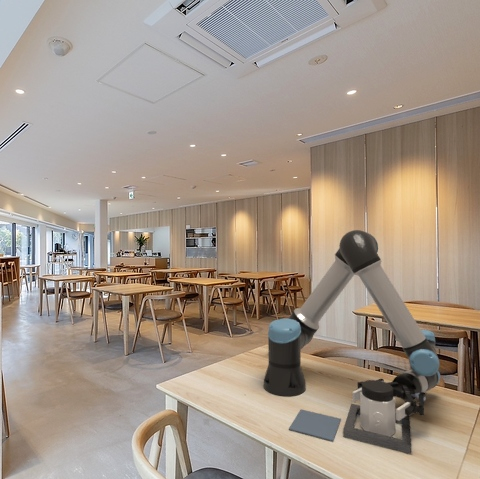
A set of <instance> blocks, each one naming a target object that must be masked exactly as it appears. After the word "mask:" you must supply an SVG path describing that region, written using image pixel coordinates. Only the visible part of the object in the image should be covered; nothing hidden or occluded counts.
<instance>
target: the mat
mask: <svg viewBox="0 0 480 479" xmlns="http://www.w3.org/2000/svg"><path fill="white" fill-rule="evenodd" d="M341 421H342V419H341V417H335V416H331V415H327V414H322V413H319V412H314V411H310V410H305V409H300V410H299V411H298V413H297V414H296V416H295V418H294V419H293V421H292V422H291V424H290V426H289V427H288V431H291V432H295V433H298V434H301V435H306V436H308V437H309V436H310V437H313V438H318V439H321V440H325V441H328V442H332V443H334V441H335V438H336V435H337V431H338V429H339V427H340V423H341Z"/></svg>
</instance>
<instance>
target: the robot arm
mask: <svg viewBox="0 0 480 479" xmlns="http://www.w3.org/2000/svg"><path fill="white" fill-rule="evenodd" d="M378 251H379V244H378V241H377V239H376V237H374V236H373V235H372V234H371V233H369V232H366V231H363V230H362V229H361V230H360V229H355V230H350V231H348V232H346V233H345V234H344V235H343V236H342V237H341V239H340V242H339V248H338V249H337V251H336V252H335V253H334V260H335V261H334V262H333V264H331V266H330V268H329V269H328V270H327V271H326V273H325V274H324V275H323V277H322V278H321V279H320V281H319V282H318V284H317V285H316V287H315V288H314V289H313V290H312V292H311V293H310V294H309V296H308V297H307V299H306V300H305V301H304V303H303V304H302V306H301V307H299V308H295V309H294V310H293V311H292V313H291V314H290V315H289V317H288V318H279V319H275V320H273V321H271V322H270V323H269V325H268V330H267V331H268V332H267V336H268V338H267V339H268V342H267V343H268V344H267V345H268V346H267V347H268V366H267V368H266V372H265V375H264V377H263V388H264V389H265V391H267V392H269V393H271V394H272V395H276V396H282V397H291V396H298V395H300V394H303V393H304V392H305V391H306V389H307V388H306V386H307V385H306V379H305V376H304V372H303V369H302V366H301V365H302V362H301V361H302V360H301V356H302V355H301V354H302V353H301V352H302V351H301V350H302V349H303V348H304V347H305V346H307V345H308V344H309V343H310V342H311V341H312V339H313V337H314V336H315V334H316V333H317V331H318V330H319V328H320V325H319V324H320V323H319V322H320V321H321V319H323V317H324V316H325V314H326V313H327V311H328V310H329V309H330V308H331V306H332V305H333V304H334V302H335V301H336V300H337V298H338V297H339V296H340V294H341V293H342V292H343V290H344V289H345V288H346V287H347V285H348V284H349V282H350V281H351V280H352V279H353V277H354V276H358V277H359V279H360V280H361V282H362V283H363V285H364V287H365V288H366V291H367V292H368V293H369V295H370V296H371V298H372V300H373V302H374V303H375V306H377V308H378V310H379V311H380V313H381V315H382V316H383V318H384V319H385V321H386V323H387V324H388V327H389V328H390V330H391V332H392V333H393V334H394V336H395V338H396V340H397V342H398V343H399V344H400V346H401V348H402V350H403V351H404V353H405V355H406V357H407V358H408V361H409V369H408V370H406V371H404V372H402V373H400V374H398V375H397V376H395V377H394V378H393V380H392V381H389V382H385V380H384V378H378V379H376V380H377V381H382V382H385V383H387V384H389V385H391V386H392V387H393V397H394V398H395V397H396V398H399V399H400V400H401V399H402V400H403V401H404V403H403V404H402V405H401V406H399V407H397V408H395V413H396V420H398V421H400V420H401V419H403V418H404V417H405V416H407V415H408V416H412V415H413V414H418V415H420V416H421V417H423V416H425V404H426V402H427V400H426V396H427V395H426V392H428V391H430V390H431V389H433V388H436V386H437V385H438V384H439V383H440V381H441V373H440V371H439V369H440V358H439V357H438V353H437V348H436V338H435V337H436V335H435V333H434V332H433V331H431V330H427V329H421V328H420V326H419V324H418V323H417V321H416V319H415V318H414V317H413V315H412V314H411V311H410V310H409V309H408V307H407V305H406V304H405V302H404V300H403V298H402V297H401V296H400V294H399V292H398V291H397V289H396V287H395V286H394V284H393V282H392V281H391V280H390V278H389V277H388V275H387V273H386V271H385V270H384V268H383V267H382V258H380V256H379V254H378V253H379V252H378ZM363 382H364V381H358V382H357V388H356V389H355V390H354V391H352V392H351V395H352V397H351V399H352V400H351V401H352V402H353V403H357V402H358V401H360V393H361V392H362V383H363ZM416 399H417V401H416ZM417 403H418V405H417Z"/></svg>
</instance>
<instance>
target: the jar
mask: <svg viewBox="0 0 480 479" xmlns="http://www.w3.org/2000/svg"><path fill="white" fill-rule="evenodd" d="M377 380H378V379H368V380H364V381H362V382H363V383H362V392H361V393H360V400H359V405H360V415H359V416H360V418H359V419H360V427H361V428H362V430H365V431H369V432H373V433H377V434H382V435H386V436H390V437H393V435H394V434H396V432H397V430H396V426H397V425H396V424H397V423H396V421H395V413H396V398H395V396H393V387H392V386H391V385H389V384H387V383H388V382H386V383H385V381H384V382H382V381H377Z"/></svg>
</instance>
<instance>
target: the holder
mask: <svg viewBox="0 0 480 479" xmlns="http://www.w3.org/2000/svg"><path fill="white" fill-rule="evenodd" d="M358 415H359V416H360V404H356V403H351V404H350V406H349V410H348V413H347V416H346V419H345V422H344V425H343V430H342V431H343V432H342V436H343V438H346V439H348V440H349V439H350V440H353V441H358V442H362V443H366V444H370V445H374V446H379V447H380V448H386V449H390V450H391V451H392V450H393V451H397V452H400V453H405V454H409V455H412V436H411V421H410V419H411V418H410V416H411V415H410V416H408V415H407V416H405V417H404V418H403V419H401V420H400V421H398V420H396V412H395V421H396V424H398V425H401V438H398V437H397V438H396V437H394V436H386V435H382V434H377V433H373V432H369V431H365V430H364V429H360V428H357V427H356V428H355V425H356V423H357V422H356V421H357V417H358Z"/></svg>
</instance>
